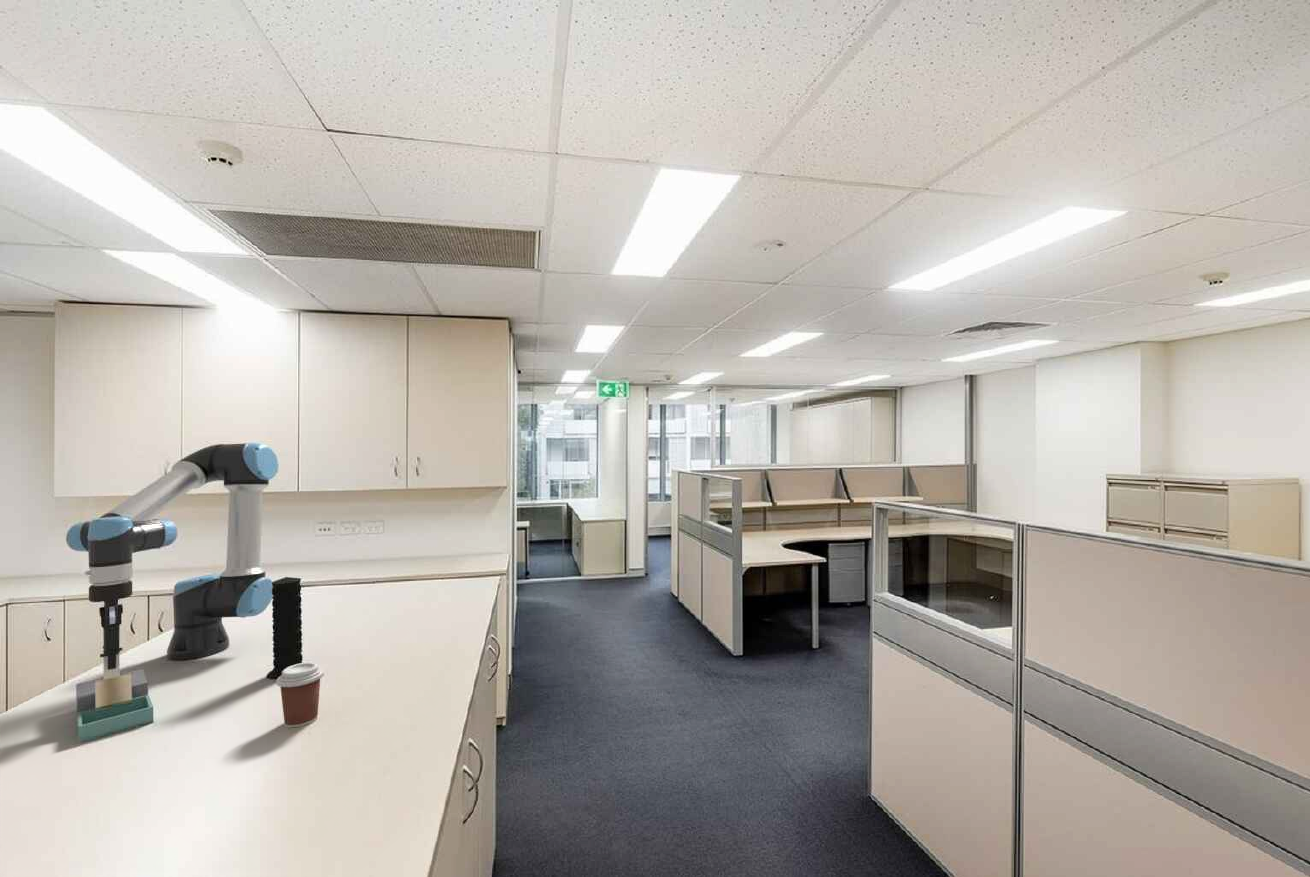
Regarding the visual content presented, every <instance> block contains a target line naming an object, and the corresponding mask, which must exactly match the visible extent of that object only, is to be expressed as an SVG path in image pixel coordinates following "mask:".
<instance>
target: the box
mask: <svg viewBox="0 0 1310 877" xmlns="http://www.w3.org/2000/svg"><path fill="white" fill-rule="evenodd" d="M152 723H153V724H154V705H153V702H152V700H151V698H150V695H149V694H148V695H145V696H141V697H137V698H133V699H132V701H131V703H130V704H126V705H122V706H118V707H114V708H110V709H106V710H102V711H97V712H95V708H94V709H90V710H86V711H82V712H78V725H77V739H78V744H81V743H85V742H88V741H92V740H95V738H96V739H99V738H98V737H100V738H102V737H106V735H107V736H109V734H110V735H113V734H112V733H114V734H116V733H115V732H117V733H120V732H124V731H128V730H131V728H132V729H135V728H137V727H136V726H139V727H142V726H145V725H149V724H152ZM134 727H135V728H134Z"/></svg>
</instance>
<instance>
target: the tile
mask: <svg viewBox="0 0 1310 877" xmlns="http://www.w3.org/2000/svg"><path fill="white" fill-rule="evenodd" d="M131 701H132V688H131V674H128V675H124V676H119V677H114V678H110V679H105V680H101V681H96V682H95V712H97V711H102V710H106V709H110V708H114V707H118V706H122V705H126V704H130V703H131Z"/></svg>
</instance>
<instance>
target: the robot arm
mask: <svg viewBox="0 0 1310 877" xmlns="http://www.w3.org/2000/svg"><path fill="white" fill-rule="evenodd" d="M278 469H279V460H278V457H277V454H276V453H275V451H273V449H272V448H271V447H270V446H269V445H268V444H264V443H256V442H255V443H254V442H247V443H228V444H225V443H221V444H220V443H219V444H212V445H209V446H206V447H203V448H201V449H198V450H196V451H194V452H193V453H191V454H189V455H186V456H185V457H184V458H181V460H179V461H177V462H175V463H174V464H173V465H172V468H171V470H170V471H169V472H166V474H163V475H162V476H161V477H159V478H158V479H156V480H155V481H153V482H152V483H150V484H149V485H147V486H146V487H144V488H142V489H140V491H138V492H136V493H135V494H133V495H132V496H131V497H129V498H127V499H126V500H124V501H123V502H121V503H119V504H118V505H117V506H115V507H114V508H112V509H111V510H109V511H108V512H106V513H104V514H103V515H102V516H100V517H97V518H94V519H91V521H88V520H87V521H83V522H79V523H75V524H74V525H72V526H71V527H70V528H69V529H68V530H67V532H66V536H65V541H66V544H67V546H68V547H69V548H70V549H71V550H73V551H76V552H88V570H86V571H85V572H84V575H85V576H88V583H89V584H90V586H89V587H88V601H89V602H91V603H100V602H103V606H100V607H99V608H98V611H99V612H98V613H99V617H100V625H101V627H102V629H103V632H102V633H103V634H102V635H103V646H102V649H103V650H102V652H103V653H101V654H99V658H103V660H102V662H103V663H102V664H103V668H102V669H103V678H104V680H105V679H110V678H114V677H119V676H120V674H121V673H120V672H121V671H120V665H121V664H120V652H121V651H123V647H120V629H121V628H120V626H121V625H122V621H123V620H122V614H123V613H124V607H123V604H121V603H120V604H119V600H123V599H127V598H130V597H131V596H132V595H133V581H132V580H131V579H133V577H134V576H133V574H134V573H133V571H134V570H133V569H134V568H133V554H134V553H139V552H145V551H150V550H156V549H157V550H159V549H161V548H164V547H168V546H170V545H172V544H173V543H174V542H175V541H176V539H177V538H178V527H177V525H176V523H175V522H174V521H172V520H171V519H168V518H154V517H155V516H157V514H159V513H161V512H162V511H164V510H165V509H166V508H167V507H169V506H170V505H172V504H174V502H176V501H178V500H179V499H180V498H182V497H183V496H185V494H187V493H188V492H190V491H191V490H194V489H198V488H201V487H203V486H204V485H206V484H208V483H211V482H217V481H218V482H219V481H223V487H224V488H226V489H227V490H228V494H229V495H228V496H229V497H228V498H229V499H228V516H227V517H228V518H227V519H228V520H227V538H226V542H227V543H226V544H227V545H226V561H225V562H226V564H225V566H226V567H225V569H224V570H223V571H222V572H221V573H212V574H205V575H199V576H195V577H191V578H186V579H183V580H180V581H178V582H176V583H175V585H174V586H173V596H172V598H173V599H172V600H173V602H172V604H173V627H174V628H173V633H172V636H171V638H170V641H169V644H168V646H167V649H166V658H167V659H168V660H171V661H183V660H185V661H186V660H193V659H198V658H203V657H207V656H211V655H214V654H216V653H220V652H222V651H225V650H226V649H228V648H229V647H230V637H229V635H228V633H227V631H226V628H225V626H224V623H223V619H222V618H242V619H244V618H249V617H250V618H251V617H255V616H258V615H260V614H262V613H264V611H265V610H266V609H267V608H268V606H269V605H270V604H271V603H272V601H273V599H272V597H273V594H272V588H273V586H272V582H273V581H272V579H271V578H268V577H266V569H264V568H263V567H261V544H262V514H263V513H262V512H263V494H264V493H263V491H264V490H265V489H267V487H269V483H270V482H269V480H271V479H274V478H275V476H277V473H278V471H279V470H278ZM152 518H153V519H152Z"/></svg>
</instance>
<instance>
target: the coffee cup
mask: <svg viewBox="0 0 1310 877" xmlns="http://www.w3.org/2000/svg"><path fill="white" fill-rule="evenodd" d="M324 674H325V673H324V670H323V669H322V668H321V667H319V664H318V663H316V662H313V661H312V662H311V661H310V662H308V661H307V662H303V663H300V664H295V665H292V666H289V667H287V668H285V669H284V670H283V671H282V675H281V676H280V677H279V678H278V679H277V680H276V686H278V687H280V696H281V703H282V713H283V720H284V721H283V722H284V723H283V724H284V727H285V726H286V727H285V728H287V727H289V728H288V729H294V728H293V727H297V728H301V727H300V726H302V727H305V726H308V725H310V724H313V723H314V722H316V721H317V719H318V716H319V715H318V714H319V701H320V688H321V687H320V686H321V679H322V678H323V676H324Z"/></svg>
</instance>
